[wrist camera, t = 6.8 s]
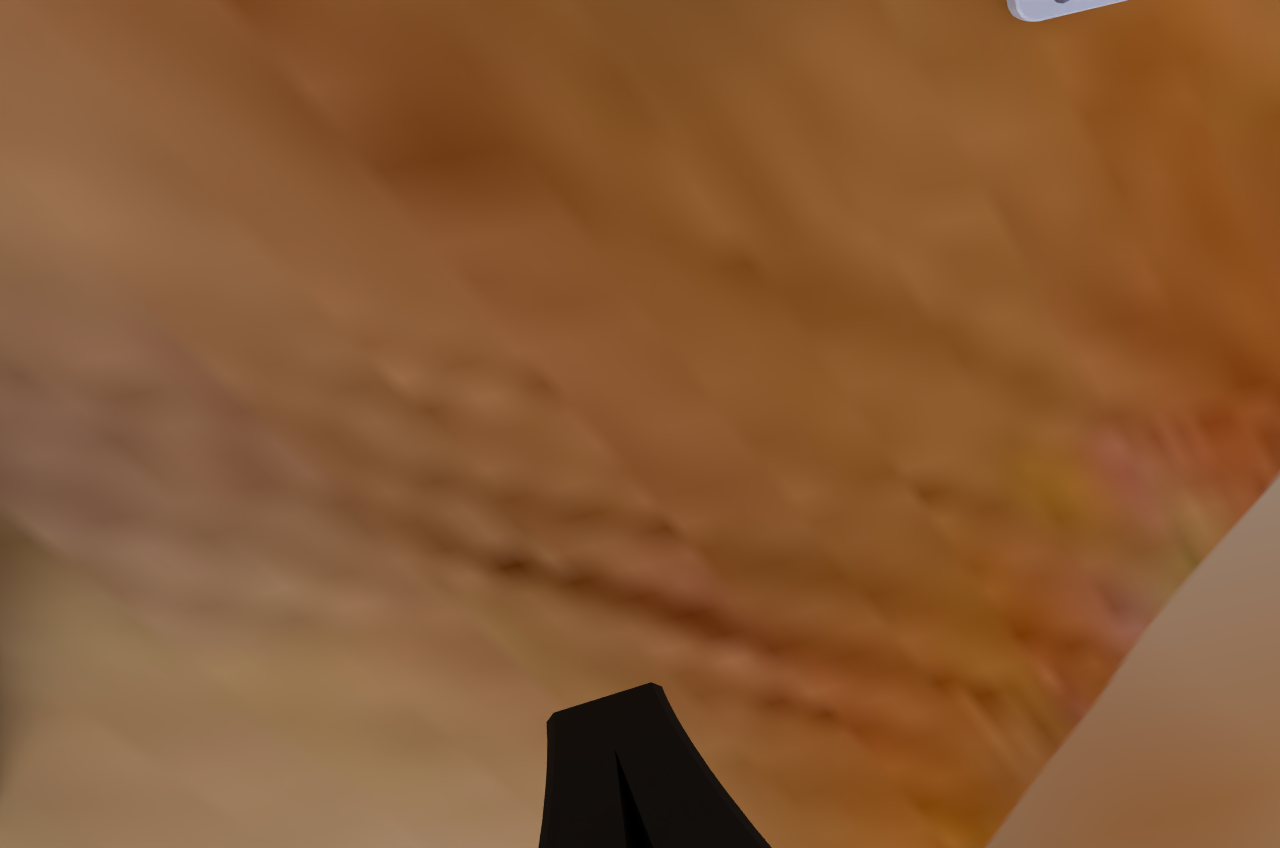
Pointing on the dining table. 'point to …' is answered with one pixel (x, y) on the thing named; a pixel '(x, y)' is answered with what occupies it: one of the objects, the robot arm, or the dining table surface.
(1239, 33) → the dining table surface
